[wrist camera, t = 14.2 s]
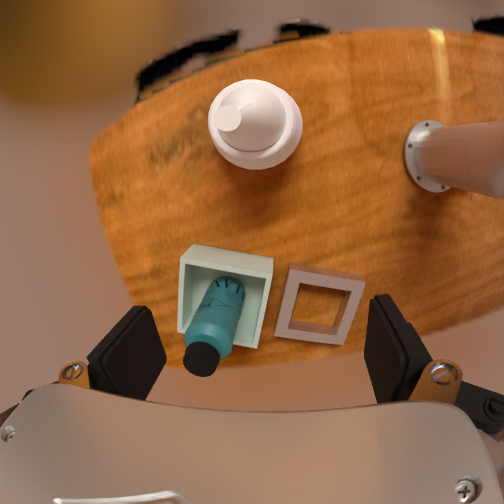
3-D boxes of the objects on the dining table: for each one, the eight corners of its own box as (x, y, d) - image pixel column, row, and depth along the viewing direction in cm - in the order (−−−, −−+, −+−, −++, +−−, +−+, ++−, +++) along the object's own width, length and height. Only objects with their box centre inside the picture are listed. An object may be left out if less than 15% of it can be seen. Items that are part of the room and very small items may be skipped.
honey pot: (250, 185, 42) (231, 201, 25) (201, 123, 40) (153, 102, 23) (316, 138, 39) (343, 121, 22) (265, 76, 36) (257, 25, 19)
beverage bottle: (255, 285, 46) (239, 364, 28) (233, 311, 48) (209, 393, 30) (222, 263, 46) (187, 332, 27) (203, 291, 48) (162, 366, 29)
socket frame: (361, 275, 45) (365, 282, 42) (340, 335, 49) (342, 345, 47) (289, 262, 46) (289, 269, 43) (274, 326, 50) (274, 335, 47)
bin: (273, 257, 46) (272, 274, 39) (259, 325, 50) (256, 348, 43) (193, 243, 46) (180, 257, 39) (189, 311, 51) (177, 332, 44)
